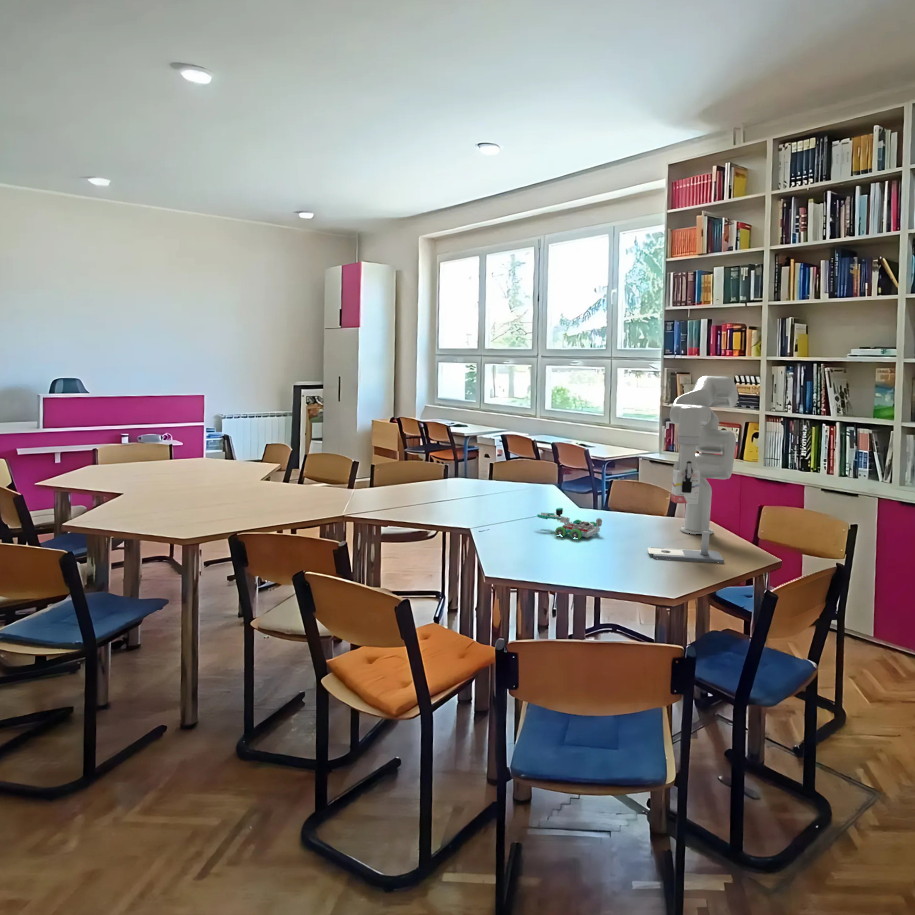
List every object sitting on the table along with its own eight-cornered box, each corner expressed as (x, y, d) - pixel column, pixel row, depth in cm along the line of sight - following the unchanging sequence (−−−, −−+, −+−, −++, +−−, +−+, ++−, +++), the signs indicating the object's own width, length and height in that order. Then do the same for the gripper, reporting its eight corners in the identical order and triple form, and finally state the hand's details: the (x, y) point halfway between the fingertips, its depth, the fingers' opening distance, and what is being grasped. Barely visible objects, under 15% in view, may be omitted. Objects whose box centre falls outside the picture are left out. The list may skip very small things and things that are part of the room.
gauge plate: (646, 549, 270) (648, 524, 268) (717, 554, 265) (719, 529, 264) (649, 558, 258) (650, 532, 257) (723, 563, 254) (725, 536, 253)
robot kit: (547, 524, 308) (548, 502, 307) (605, 533, 295) (606, 510, 294) (526, 533, 293) (527, 509, 291) (586, 542, 279) (587, 518, 278)
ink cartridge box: (675, 503, 268) (677, 462, 266) (670, 501, 273) (673, 460, 271) (698, 504, 268) (701, 463, 266) (694, 501, 273) (696, 461, 271)
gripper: (675, 438, 277) (672, 486, 279) (680, 443, 260) (677, 494, 262) (696, 439, 276) (692, 487, 278) (703, 444, 259) (699, 495, 261)
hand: (685, 490), depth 270 cm, fingers closed on ink cartridge box, 5 cm apart
